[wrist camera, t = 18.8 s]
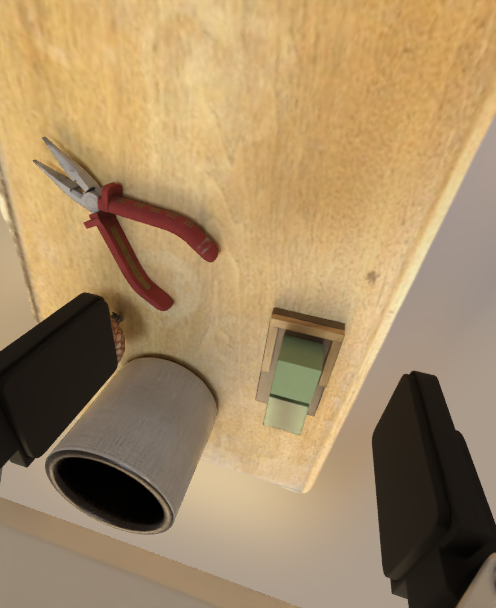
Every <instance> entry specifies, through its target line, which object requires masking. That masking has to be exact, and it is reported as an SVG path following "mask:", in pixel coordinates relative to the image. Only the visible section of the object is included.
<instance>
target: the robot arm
mask: <svg viewBox="0 0 496 608" xmlns="http://www.w3.org/2000/svg"><path fill="white" fill-rule="evenodd" d="M117 365H118V359H117V353H116V347H115V342H114V336H113V330H112V324H111V318H110V313H109V307H108V304H107V302H105V300H104V298H103V297H101V296H98V295H94V294H90V293H82V294H80V295H78V296H77V297H76V298H74V299H73V300H71V301H70V302H69V303H67V304H66V305H64V306H63V307H62V308H60V309H59V310H57V311H56V312H55V313H53V314H52V315H50V316H49V317H48V318H46V319H45V320H43V321H42V322H41V323H39V324H38V325H36V326H35V327H34V328H32V329H31V330H29V331H28V332H27V333H25V334H24V335H22V336H21V337H20V338H18V339H17V340H15V341H14V342H13V343H11V344H10V345H8V346H7V347H6V348H5V349H3V350H2V351H0V481H1V473H2V467H3V466H4V465H5V463H6V462H7V461H8V460H9V459H10V461H11V462H12V463H15V464H18V465H21V466H24V467H28V466H29V465H30V464H31V463H32V462H33V460H34V459H35V458H39V457H40V456H42V455H43V454H44V453H45V452H46V451H47V450H48V449H49V447H50V446H51V445H52V444H53V443H54V442H55V440H56V439H57V438H58V437H59V436H60V435H61V433H62V432H63V431H64V430H65V429H66V428H67V427H68V425H69V424H70V423H71V422H72V421H73V420H74V418H75V417H76V416H77V415H78V414H79V413H80V411H81V410H82V409H83V408H84V407H85V406H86V404H87V403H88V402H89V401H90V400H91V399H92V397H93V396H94V395H95V394H96V393H97V392H98V390H99V389H100V388H101V387H102V386H103V385H104V384H105V382H106V381H107V380H108V379H109V378H110V377H111V375H112V374H113V373H114V372H115V370H116V368H117ZM372 448H373V461H374V473H375V484H376V496H377V508H378V520H379V532H380V543H381V555H382V566H383V571H384V575H385V576H386V577H388V578H390V580H391V590H392V594H394V595H397V596H400V597H403V598H406V599H408V604H409V608H496V524H495V521H494V519H493V516H492V513H491V510H490V507H489V505H488V502H487V499H486V497H485V494H484V491H483V488H482V486H481V483H480V480H479V477H478V475H477V472H476V469H475V466H474V464H473V461H472V458H471V455H470V453H469V450H468V447H467V444H466V442H465V439H464V437H463V436H462V434H461V433H460V432H459V431H457V430H455V427H454V424H453V422H452V419H451V416H450V413H449V410H448V407H447V404H446V401H445V398H444V396H443V393H442V390H441V387H440V384H439V381H438V379H437V377H436V376H435V375H431V374H426V373H422V372H418V371H412V372H411V373H410V374H409V375H408V374H404V375H403V376H402V378H401V379H400V381H399V383H398V385H397V387H396V389H395V391H394V393H393V395H392V397H391V399H390V401H389V403H388V405H387V407H386V409H385V411H384V413H383V414H382V416H381V419H380V420H379V422H378V424H377V426H376V428H375V430H374V433H373V437H372ZM0 608H300V607H297V606H294V605H292V604H289V603H286V602H284V601H281V600H279V599H276V598H273V597H271V596H268V595H265V594H263V593H260V592H257V591H254V590H252V589H249V588H246V587H243V586H241V585H238V584H236V583H233V582H230V581H228V580H225V579H222V578H219V577H217V576H214V575H212V574H209V573H206V572H203V571H201V570H198V569H196V568H193V567H190V566H187V565H185V564H182V563H179V562H177V561H174V560H171V559H168V558H166V557H163V556H160V555H158V554H155V553H152V552H149V551H147V550H144V549H141V548H139V547H136V546H133V545H130V544H128V543H125V542H122V541H119V540H117V539H114V538H111V537H109V536H106V535H103V534H100V533H98V532H95V531H92V530H89V529H87V528H84V527H81V526H78V525H76V524H73V523H70V522H67V521H65V520H62V519H59V518H56V517H53V516H51V515H48V514H45V513H43V512H40V511H37V510H34V509H31V508H29V507H26V506H23V505H20V504H18V503H15V502H12V501H9V500H7V499H4V498H1V497H0Z"/></svg>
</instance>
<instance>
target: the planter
mask: <svg viewBox="0 0 496 608" xmlns="http://www.w3.org/2000/svg"><path fill="white" fill-rule="evenodd" d="M216 415H217V407H216V403H215V400H214V397H213V395H212V393H211V392H210V390H209V389H208V387H207V386H206V385H205V384H204V382H203V381H202V380H201V379H200V378H199V377H197V376H196V375H195V374H194V373H192V372H191V371H190V370H188V369H186V368H185V367H183V366H181V365H179V364H177V363H174V362H172V361H168V360H164V359H160V358H138V359H135V360H132V361H130V362H128V363H127V364H125V365H124V366H123V367H122V368H121V369H120V370H119V371H118V372H117V373H116V375H115V376H114V377H113V378H112V379H111V381H110V382H109V383H108V384H107V386H106V387H105V388H104V389H103V390H102V392H101V393H100V394H99V395H98V397H97V398H96V399H95V400H94V402H93V403H92V404H91V405H90V406H89V408H88V409H87V410H86V411H85V412H84V414H83V415H82V416H81V417H80V419H79V420H78V421H77V422H76V423H75V425H74V426H73V427H72V428H71V429H70V431H69V432H68V433H67V434H66V435H65V437H64V438H63V439H62V440H61V441H60V443H59V444H58V445H57V446H56V447H55V448H54V450H53V451H52V452H51V453H50V454H49V456H48V457H47V459H46V462H45V470H46V473H47V476H48V478H49V480H50V482H51V483H52V485H53V486H54V487H55V489H56V490H57V491H58V492H59V493H60V494H61V495H62V496H63V497H64V498H65V499H66V500H67V501H68V502H70V503H71V504H72V505H73V506H75V507H76V508H77V509H79V510H80V511H82V512H83V513H85V514H87V515H88V516H90V517H92V518H94V519H96V520H97V521H100V522H102V523H104V524H106V525H108V526H111V527H114V528H116V529H120V530H123V531H126V532H131V533H137V534H158V533H162V532H165V531H166V530H168V529H169V528H170V527H171V526H172V525H173V523H174V520H175V518H176V515H177V513H178V510H179V508H180V505H181V503H182V501H183V498H184V496H185V493H186V491H187V488H188V486H189V484H190V481H191V479H192V476H193V474H194V472H195V469H196V467H197V464H198V462H199V460H200V457H201V455H202V453H203V450H204V448H205V445H206V443H207V441H208V438H209V436H210V433H211V431H212V429H213V426H214V423H215V420H216Z"/></svg>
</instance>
